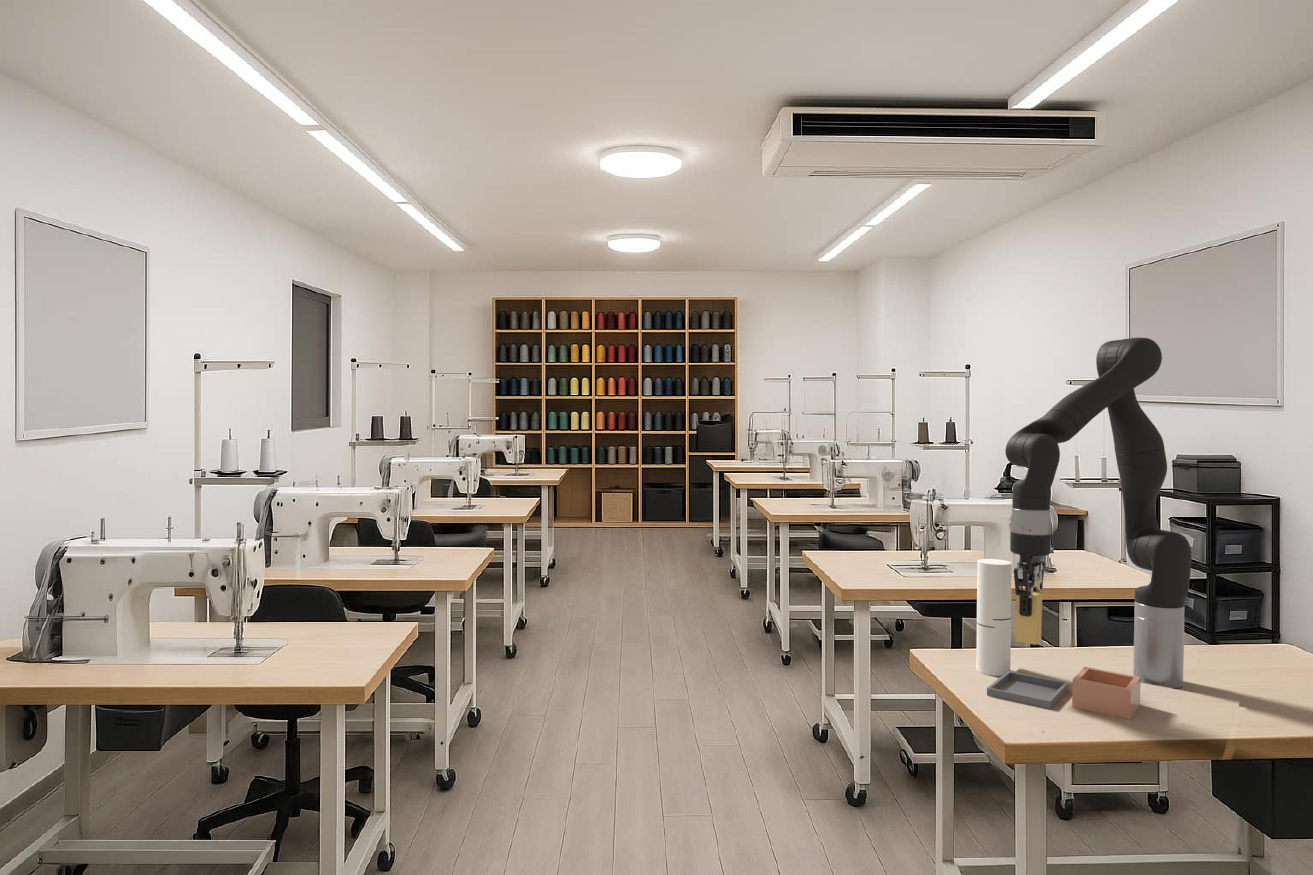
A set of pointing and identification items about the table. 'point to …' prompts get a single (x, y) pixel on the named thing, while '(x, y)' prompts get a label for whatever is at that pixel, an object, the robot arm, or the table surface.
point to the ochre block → (1029, 621)
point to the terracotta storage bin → (1106, 692)
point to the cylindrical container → (993, 616)
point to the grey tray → (1028, 689)
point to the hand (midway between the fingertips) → (1028, 613)
